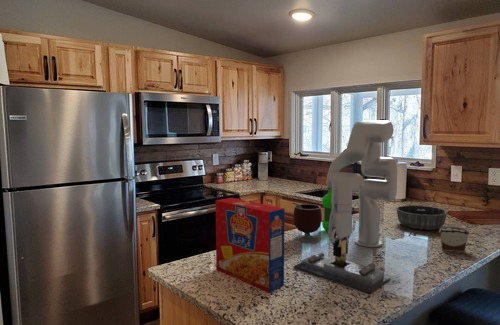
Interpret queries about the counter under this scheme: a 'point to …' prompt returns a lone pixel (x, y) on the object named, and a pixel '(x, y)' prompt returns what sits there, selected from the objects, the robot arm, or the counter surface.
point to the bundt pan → (421, 217)
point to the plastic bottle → (327, 209)
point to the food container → (453, 238)
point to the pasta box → (250, 242)
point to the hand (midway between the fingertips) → (340, 254)
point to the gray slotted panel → (345, 273)
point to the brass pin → (341, 260)
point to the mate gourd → (307, 222)
